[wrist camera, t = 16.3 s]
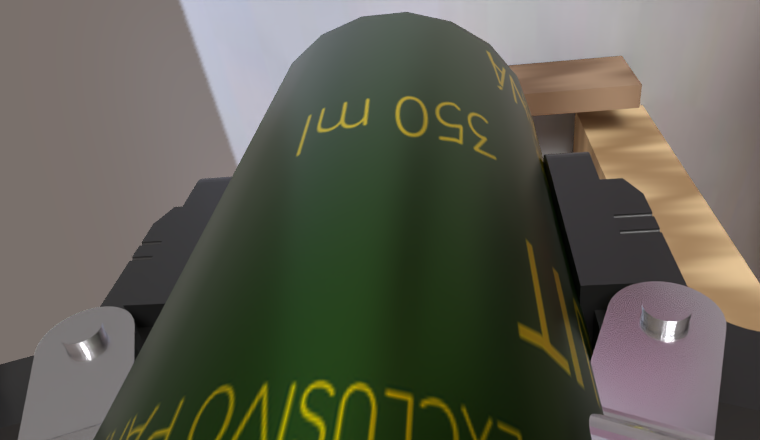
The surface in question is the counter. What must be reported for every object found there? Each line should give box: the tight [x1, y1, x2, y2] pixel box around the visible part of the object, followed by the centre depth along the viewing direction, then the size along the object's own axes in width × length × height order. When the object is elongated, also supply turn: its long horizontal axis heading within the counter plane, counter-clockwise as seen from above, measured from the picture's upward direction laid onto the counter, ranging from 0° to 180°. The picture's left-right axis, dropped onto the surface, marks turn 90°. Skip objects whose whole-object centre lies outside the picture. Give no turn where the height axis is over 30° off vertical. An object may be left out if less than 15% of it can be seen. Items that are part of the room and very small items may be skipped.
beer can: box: [93, 12, 604, 440], centre depth 9 cm, size 5×5×12 cm
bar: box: [573, 105, 760, 332], centre depth 30 cm, size 4×4×19 cm
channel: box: [509, 56, 642, 116], centre depth 37 cm, size 10×9×4 cm
